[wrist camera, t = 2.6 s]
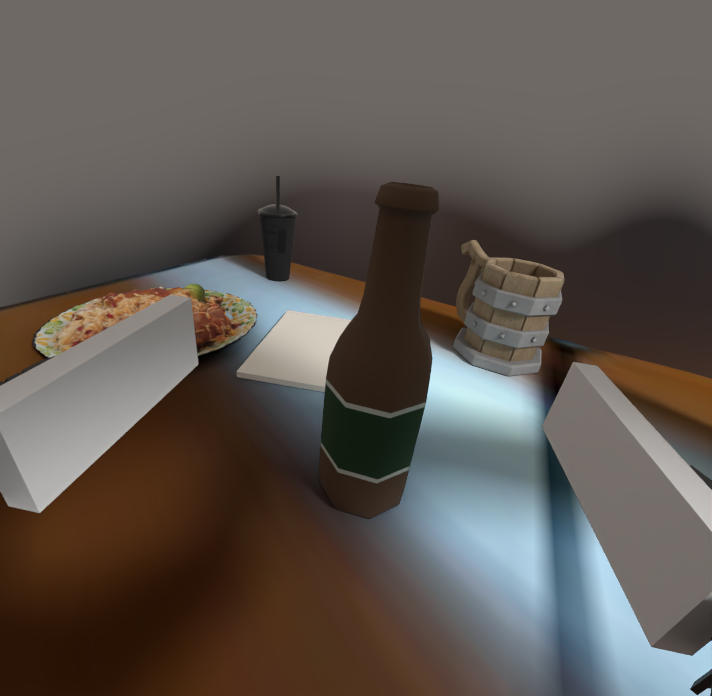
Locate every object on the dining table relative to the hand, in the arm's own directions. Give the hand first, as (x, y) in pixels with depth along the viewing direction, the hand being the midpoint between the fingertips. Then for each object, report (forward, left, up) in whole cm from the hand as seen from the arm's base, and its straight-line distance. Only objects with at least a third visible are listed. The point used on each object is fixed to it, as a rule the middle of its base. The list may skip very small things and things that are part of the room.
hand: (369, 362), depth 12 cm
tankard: (-17, -44, -19) cm, 51 cm away
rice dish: (+33, -32, -19) cm, 50 cm away
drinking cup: (+24, -61, -19) cm, 68 cm away
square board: (+6, -33, -19) cm, 39 cm away
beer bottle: (-1, -11, -19) cm, 22 cm away
